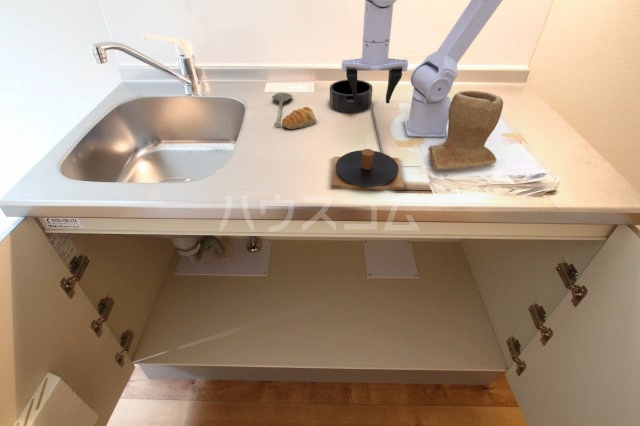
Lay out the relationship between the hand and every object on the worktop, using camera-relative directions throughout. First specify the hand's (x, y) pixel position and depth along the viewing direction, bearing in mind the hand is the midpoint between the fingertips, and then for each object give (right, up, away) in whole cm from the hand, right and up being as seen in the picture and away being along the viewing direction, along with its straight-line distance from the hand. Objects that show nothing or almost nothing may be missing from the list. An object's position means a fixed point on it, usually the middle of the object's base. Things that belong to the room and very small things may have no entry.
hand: (371, 101), depth 77 cm
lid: (-2, -17, -7) cm, 19 cm away
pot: (-3, +7, +21) cm, 23 cm away
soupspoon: (-24, +4, +20) cm, 32 cm away
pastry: (-18, -2, +13) cm, 22 cm away
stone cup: (+19, -15, -3) cm, 24 cm away
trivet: (-2, -18, -6) cm, 19 cm away
